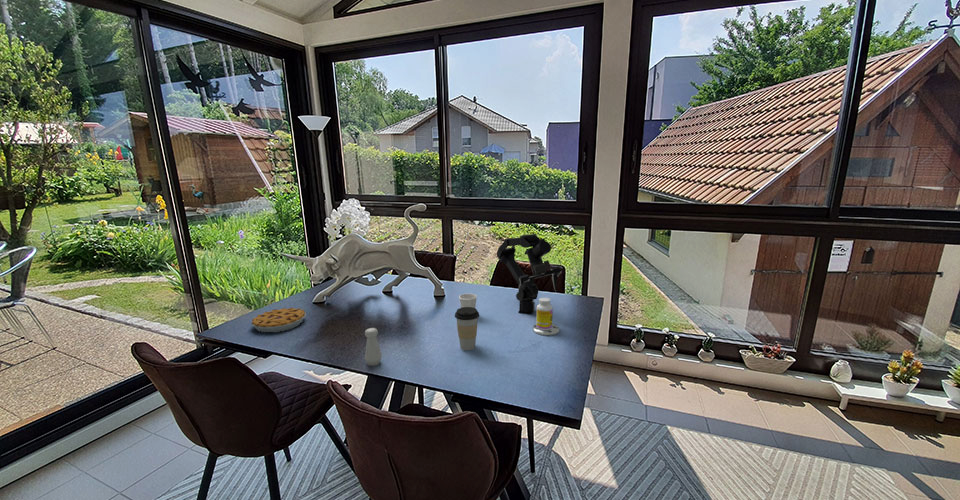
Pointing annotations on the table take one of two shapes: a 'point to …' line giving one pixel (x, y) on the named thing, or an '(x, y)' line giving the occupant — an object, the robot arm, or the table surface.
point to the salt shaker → (372, 347)
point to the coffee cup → (467, 327)
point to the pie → (278, 320)
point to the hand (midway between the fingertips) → (545, 293)
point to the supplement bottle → (544, 315)
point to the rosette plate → (547, 333)
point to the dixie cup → (468, 300)
